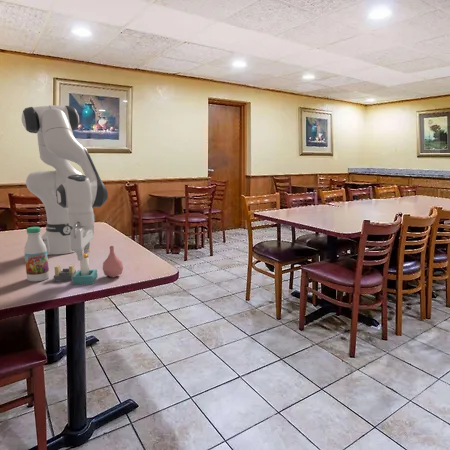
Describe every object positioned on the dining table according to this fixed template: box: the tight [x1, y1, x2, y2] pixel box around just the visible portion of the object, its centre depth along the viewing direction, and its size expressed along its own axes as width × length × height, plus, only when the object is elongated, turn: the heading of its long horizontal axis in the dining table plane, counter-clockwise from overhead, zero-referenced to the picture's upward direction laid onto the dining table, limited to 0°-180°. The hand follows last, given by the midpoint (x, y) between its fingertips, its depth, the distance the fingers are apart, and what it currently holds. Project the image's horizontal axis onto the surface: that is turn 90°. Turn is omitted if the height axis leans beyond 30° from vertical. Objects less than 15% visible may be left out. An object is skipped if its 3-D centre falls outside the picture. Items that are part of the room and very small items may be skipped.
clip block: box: [53, 263, 77, 282], centre depth 149 cm, size 6×6×5 cm
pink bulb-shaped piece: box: [102, 245, 124, 278], centre depth 150 cm, size 8×8×12 cm
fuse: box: [79, 252, 90, 276], centre depth 145 cm, size 3×3×9 cm
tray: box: [72, 269, 98, 286], centre depth 146 cm, size 7×8×3 cm
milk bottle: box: [23, 226, 50, 282], centre depth 147 cm, size 8×8×20 cm
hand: (84, 256), depth 145 cm, fingers open, 8 cm apart
